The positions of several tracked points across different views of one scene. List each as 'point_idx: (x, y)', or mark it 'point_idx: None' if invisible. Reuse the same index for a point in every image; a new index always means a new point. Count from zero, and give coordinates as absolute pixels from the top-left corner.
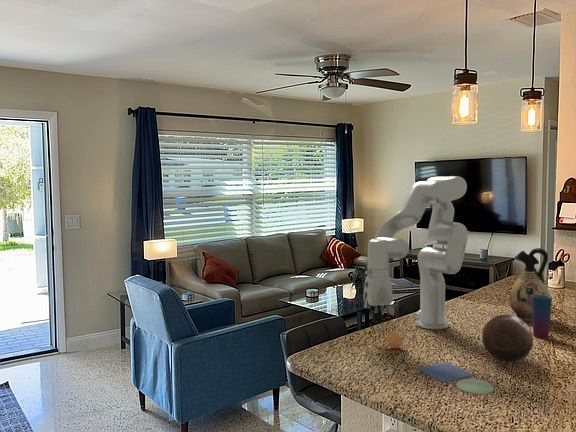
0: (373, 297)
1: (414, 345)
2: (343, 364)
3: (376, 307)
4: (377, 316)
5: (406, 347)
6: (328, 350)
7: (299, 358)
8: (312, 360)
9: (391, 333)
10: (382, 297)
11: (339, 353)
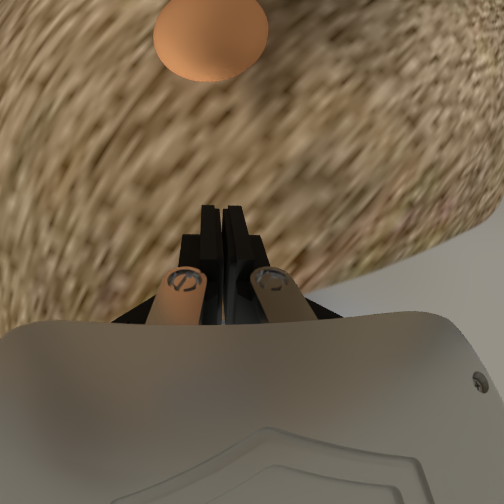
0: (481, 417)
1: (84, 40)
2: (477, 77)
3: (290, 320)
4: (249, 244)
5: (142, 26)
6: (437, 200)
7: (495, 195)
8: (494, 163)
9: (239, 29)
10: (255, 484)
11: (438, 154)
